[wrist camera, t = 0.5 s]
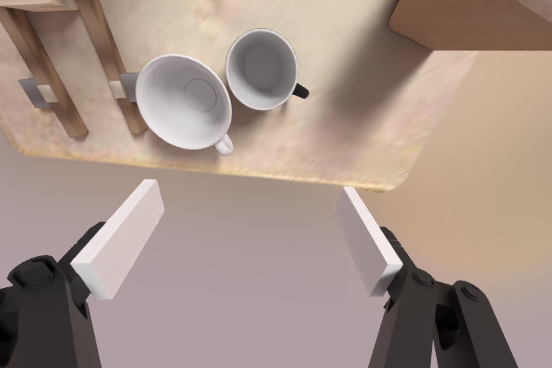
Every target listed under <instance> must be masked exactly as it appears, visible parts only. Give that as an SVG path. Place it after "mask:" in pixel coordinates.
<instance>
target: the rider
mask: <svg viewBox="0 0 552 368" xmlns="http://www.w3.org/2000/svg"><path fill="white" fill-rule="evenodd" d="M0 6H4V7H10V8H15V9H21V10H27V11H33V12H48V11H67V10H79V8H78V5H77V3H76V1H75V0H0Z"/></svg>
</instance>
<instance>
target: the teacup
mask: <svg viewBox="0 0 552 368" xmlns="http://www.w3.org/2000/svg"><path fill="white" fill-rule="evenodd" d="M135 92H136V101H137V105H138V108H139V111H140V113H141V115H142V117H143V119H144V121H145V123H146V124H147V125H148V127H149V128H150V129H151V130H152V131H153V132H154V133H155V134H156V135H157V136H158V137H160V138H161V139H162V140H164V141H165V142H167V143H169V144H171V145H173V146H176V147H179V148H182V149H187V150H201V149H205V148H208V147H210V146H213V145H214V144H215V147H216V149H217V151H218V152H219V153H220V154H221V155H223V156H228V155H230V154H231V153H232V152H233V144H232V142H231V140H230V138H229V136H228V135H227V133H226V132H227V131H228V128H229V126H230V123H231V117H232V108H231V102H230V97H229V95H228V92H227V90H226V87H225V85H224V84H223V82H222V81H221V79H220V78H219V77H218V75H217V74H216V73H215V72H214V71H213V70H212V69H211V68H209V67H208V66H207V65H205V64H204V63H202V62H201V61H199V60H197V59H195V58H192V57H190V56H186V55H182V54H165V55H161V56H158V57H156V58H154V59H152V60H151V61H150V62H149V63H147V64H146V65H145V66H144V68H143V69H142V70H141V72H140V74H139V76H138V79H137V82H136V90H135Z"/></svg>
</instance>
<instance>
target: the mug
mask: <svg viewBox="0 0 552 368" xmlns="http://www.w3.org/2000/svg"><path fill="white" fill-rule="evenodd" d="M225 69H226V78H227V82H228V85H229V87H230V89H231V91H232V93H233V94H234V96H235V97H236V98H237V99H238V100H239V101H240V102H241V103H242V104H244V105H245V106H247V107H249V108H251V109H255V110H261V111H265V110H271V109H274V108H277V107H279V106H280V105H282V104H283V103H284V102H286V101H287V100H288V98H289V97H290V96H291V94H292V95H296V96H298V97H301V98H304V99H305V98H307V97H308V95H309V91H308V90H307V89H306V88H304V87H303V86H301V85H299V84H298V83H297V79H298V63H297V58H296V55H295V52H294V50H293V48H292V47H291V45H290V44H289V42H288V41H287V40H286V39H285V38H284V37H283V36H281V35H280V34H278V33H277V32H275V31H272V30H269V29H263V28H259V29H253V30H249V31H247V32H245V33H243V34H242V35H241V36H239V37H238V38H237V39H236V40H235V42H234V43H233V44H232V46H231V48H230V50H229V52H228V55H227V58H226V66H225Z"/></svg>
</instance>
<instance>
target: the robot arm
mask: <svg viewBox="0 0 552 368" xmlns="http://www.w3.org/2000/svg"><path fill="white" fill-rule="evenodd" d="M164 211H165V210H164V206H163V202H162V198H161V195H160V191H159V187H158V183H157V180H150V179H144V181H143V182H142V183H141V184H140V185H139V186H138V187H137V189H136V190H135V191H134V192H133V193H132V194H131V195H130V196H129V197H128V199H127V200H126V201H125V202H124V203H123V204H122V205H121V207H120V208H119V209H118V210H117V211H116V212H115V213H114V215H113V216H112V217H111V218H110V219H109V220H108V221H107V222H99V223H98V224H96V225H94V226H93V227H91V228H90V229H89V230H88V231H87V232H86V233H85V234H84V235H83V237H82V238H80V239H79V240H78V242H77V244H75V245H74V246H73V247H72V248H71V249H70V250H69V251H68V252H67V253H66V254H65V255H64V256H63V257H62V259H60V261H59V262H58V263H57V262H56V261H55V260H54V258H53V257H52V256H49V255H43V256H37V257H34V258H31V259H29V260H27V261H25V262H22V263H21V264H20V265H18V266H17V267H15V268H14V269H13V270H12V271H11V272H10V273H9V275H8V277H7V279H8V280H9V281H10V282H11V283H12V284H13V285H14V286H11V287H6V288H2V289H0V368H102V367H101V363H100V358H99V354H98V349H97V344H96V340H95V335H94V330H93V326H92V321H91V317H90V312H89V307H88V304H87V302H86V301H85V300H86V299H87V297H88V296H89V294H90V293H91V294H92V295H93V297H94V298H95V300H96V299H113V297H114V296H115V294H116V292H117V290H118V289H119V287H120V285H121V284H122V282H123V280H124V279H125V277H126V275H127V273H128V272H129V270H130V269H131V267H132V265H133V264H134V262H135V260H136V258H137V257H138V255H139V253H140V252H141V250H142V248H143V247H144V245H145V243H146V242H147V240H148V238H149V237H150V235H151V233H152V232H153V230H154V228H155V227H156V225H157V223H158V221H159V220H160V218H161V216H162V215H163V213H164ZM335 217H336V220H337V222H338V225H339V227H340V229H341V231H342V234H343V236H344V239H345V241H346V243H347V245H348V248H349V250H350V252H351V255H352V257H353V259H354V261H355V264H356V266H357V269H358V271H359V273H360V276H361V278H362V280H363V282H364V285H365V287H366V290H367V292H368V294H369V296H383V295H384V294H385V292H386V291H388V293H389V295H390V298H389V300H388V301H387V303H386V304H385V306H384V308H385V309H386V310H385V313H384V316H383V320H382V323H381V326H380V330H379V333H378V336H377V340H376V343H375V346H374V350H373V353H372V356H371V360H370V363H369V366H368V368H430V365H431V354H432V344H433V340H434V346H435V351H436V357H437V362H438V368H518V366H517V364H516V362H515V359H514V357H513V355H512V352H511V350H510V348H509V346H508V343H507V341H506V339H505V337H504V334H503V332H502V330H501V327H500V325H499V323H498V321H497V318H496V316H495V314H494V312H493V309H492V307H491V305H490V303H489V300H488V298H487V297H486V295H485V294H484V293H483V292H482V291H481V290H480V289H479V288H477V287H476V286H474V285H473V284H471V283H469V282H466V281H462V280H460V281H456V282H455V283H454V285H453V286H452V285H449V284H445V283H442V282H438V281H435V280H434V278H432V276H431V275H430V274H428V273H427V272H425V271H424V270H421V269H418V268H417V267H416V266H415V264H414V263H413V261H412V260H411V259H410V257H409V256H408V254H407V253H406V252H405V250H404V249H403V247H401V244H400V243H399V241H397V239H396V237H395V236H394V234H393V233H392V232H391V231H390V230H388V229H387V228H386V227H379V226H378V225H377V223H376V222H375V220H374V219H373V217H372V216H371V214H370V213H369V211H368V210H367V208H366V206H365V205H364V203H363V202H362V200H361V199H360V197H359V195H358V194H357V192H356V191H355V189H354V188H353V187H343V188H342V192H341V195H340V198H339V201H338V205H337V208H336V211H335Z"/></svg>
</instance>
